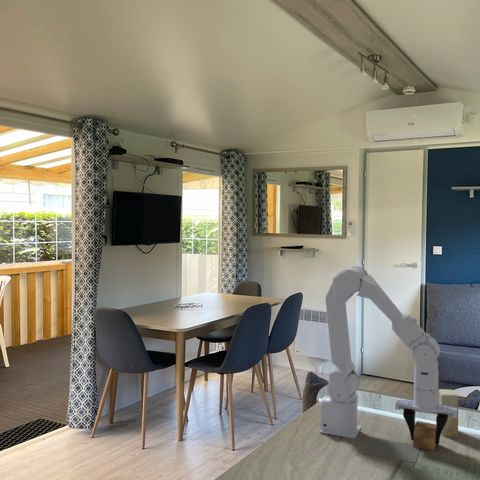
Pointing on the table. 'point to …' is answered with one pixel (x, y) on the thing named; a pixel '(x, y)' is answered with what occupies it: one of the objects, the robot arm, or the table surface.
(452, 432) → the box
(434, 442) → the cube
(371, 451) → the mat
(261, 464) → the table surface
